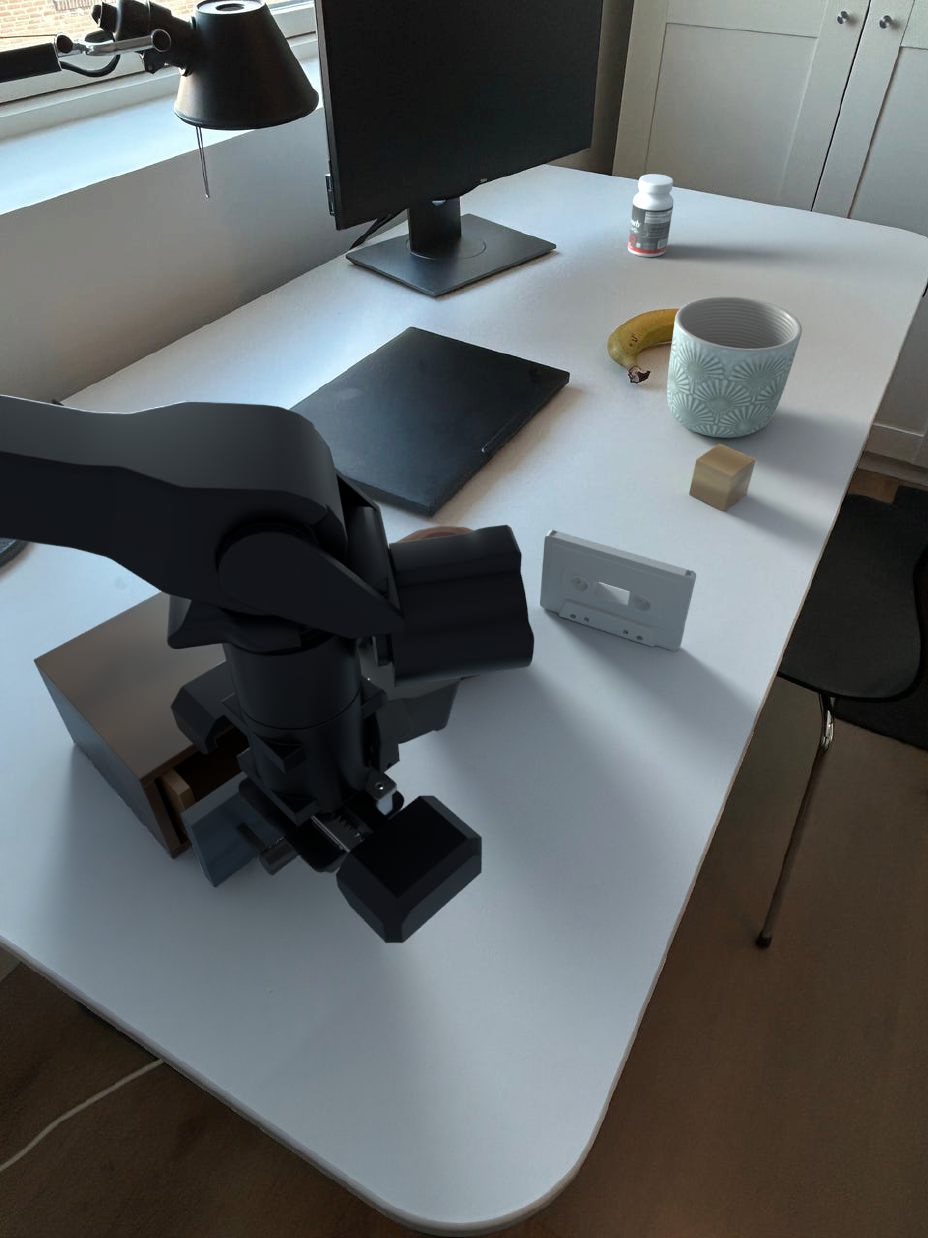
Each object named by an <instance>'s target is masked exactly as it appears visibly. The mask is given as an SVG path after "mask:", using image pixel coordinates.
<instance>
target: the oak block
mask: <svg viewBox="0 0 928 1238" xmlns="http://www.w3.org/2000/svg"><path fill="white" fill-rule="evenodd" d="M756 461H757V460H756V458H753V457H752V456H749V455H747V454H745V453H742V452H740V451H738V450H737V449H736V450H735V449H733V448H731V447H729V446H727V445H725V444H722V443H718V444H716V445H715V446H714V447H712V448H711V449H709V450H708V451H706V452H705V453H703V454H702V455H700V456H699V457H698V458H696V459H695V463H694V468H693V473H692V477H691V482H690V486H689V487H690V488H689V492H688V495H690V496H692V497H694V498H695V499H698V500H700V501H702V502H704V503H706V504H708V505H710V506H712V507H714V508H716V509H718V510H721V511H722V512H725V511H726V510H728V509H729V508H730V507H732V506H733V505H734V504H736V503H737V502H738V501H739V500H741V499H743V498H744V497H745V496H746V495H747V494H748V490H749V487H750V483H751V480H752V476H753V471H754V469H755V468H754V467H755V464H756Z"/></svg>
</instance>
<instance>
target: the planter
mask: <svg viewBox="0 0 928 1238" xmlns="http://www.w3.org/2000/svg"><path fill="white" fill-rule="evenodd" d="M802 334H803V327H802V324H801V322H800V321H799V319H798V318H797V317H796V316H794V315H793V314H792V313H791V312H789V311H788V310H787V309H784V308H783V307H780V306H778V305H775V304H773V303H770V302H767V301H764V300H760V299H755V298H750V297H742V296H727V295H726V296H721V295H720V296H709V297H704V298H700V299H695V300H692V301H690V302H688V303H686V304H684V305H682V307H680V308H679V309H678V311H677V312H676V314H675V317H674V325H673V332H672V339H671V347H670V354H669V363H668V372H667V382H666V383H667V385H666V398H667V399H666V400H667V405H668V408H669V411H670V413H671V414H672V416H673V418H675V419H676V421H678V422H679V423H680V424H681V425H682V426H684V427H685V428H687V429H689V430H691V431H693V432H695V433H697V434H701V435H704V436H706V437H707V436H708V437H713V438H720V439H721V438H723V439H724V438H728V439H730V438H741V437H744V436H749V435H751V434H753V433H755V432H758V431H759V430H761V429H762V428H764V427H765V426H766V425H767V424H768V423H769V422H770V420H771V419H772V417H773V416H774V414H775V413H776V410H777V408H778V406H779V404H780V401H781V398H782V396H783V393H784V390H785V387H786V385H787V381H788V378H789V375H790V372H791V369H792V366H793V364H794V363H793V362H794V359H795V357H796V354H797V351H798V346H799V343H800V339H801V337H802Z"/></svg>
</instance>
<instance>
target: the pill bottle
mask: <svg viewBox="0 0 928 1238" xmlns="http://www.w3.org/2000/svg"><path fill="white" fill-rule="evenodd" d="M673 185H674V179H673V178H672V177H670V176H668V175H665V174H659V173H648V174H645V175H641V176H640V177H639V180H638V185H637V186H638V189H639V191H638V193H636V194H635V196H634V197H633V201H632V206H631V207H632V208H631V216H630V224H629V230H628V239H627V249H628V252H630V253H631V254H632V255H634V256H638V257H643V258H656V257H659V256H662V255H663V254H665V253H666V252H667V248H668V243H669V235H670V230H671V229H670V228H671V222H672V216H673V210H674V209H673V208H674V198H673V196H672V195H671V194H670V193H671V192H672V190H673Z"/></svg>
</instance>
